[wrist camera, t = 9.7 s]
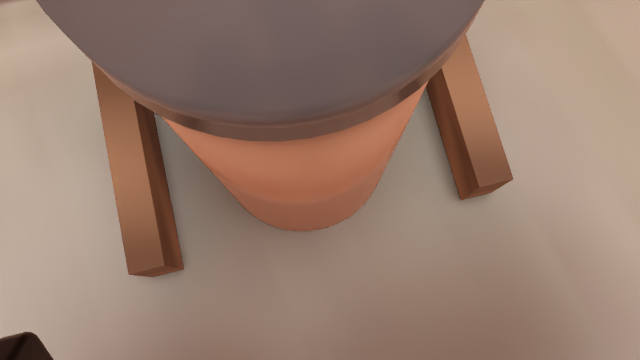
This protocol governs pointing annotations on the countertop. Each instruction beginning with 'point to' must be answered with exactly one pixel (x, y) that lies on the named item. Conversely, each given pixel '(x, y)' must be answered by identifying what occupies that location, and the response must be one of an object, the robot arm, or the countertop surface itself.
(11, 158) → the countertop surface
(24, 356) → the robot arm
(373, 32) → the jar
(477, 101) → the brown wooden frame
